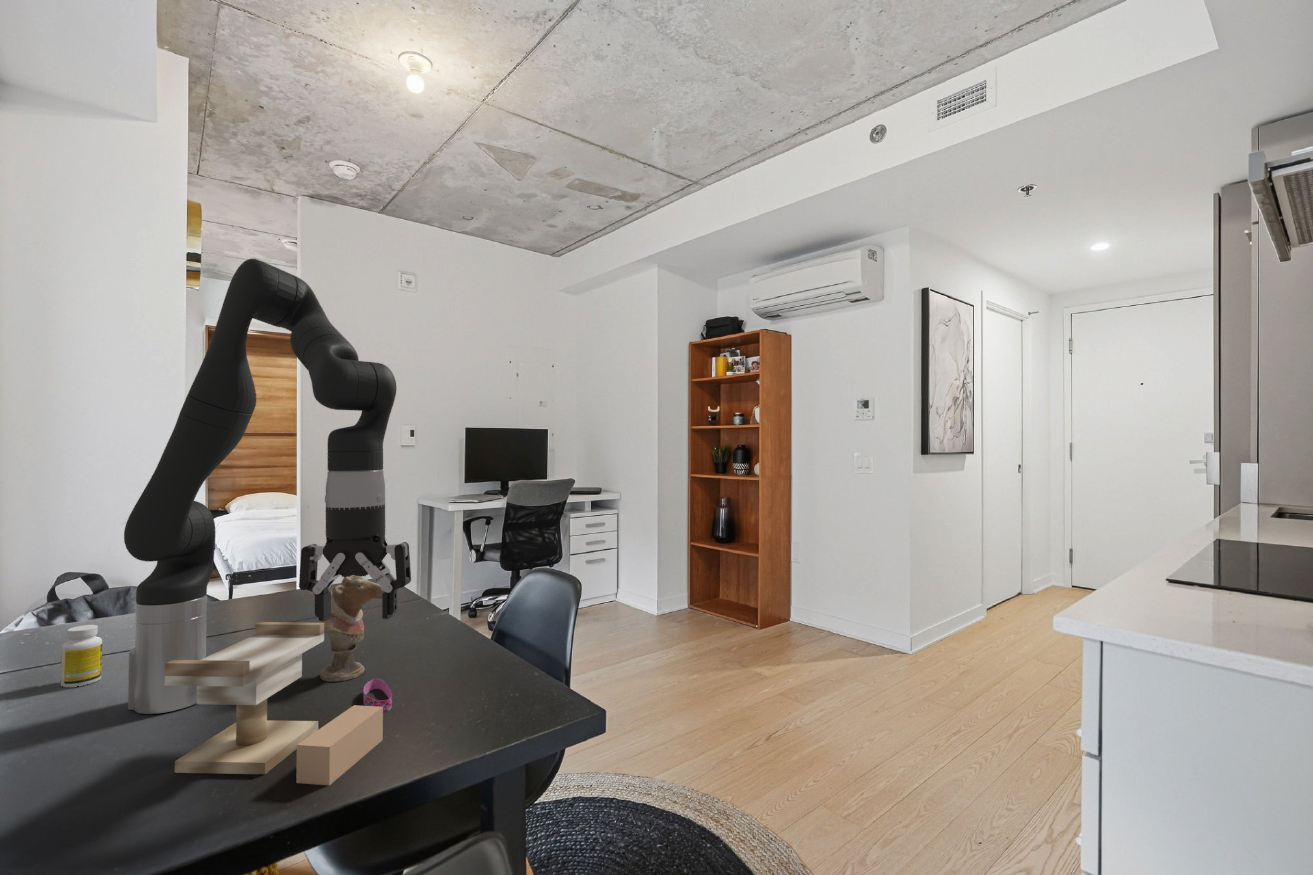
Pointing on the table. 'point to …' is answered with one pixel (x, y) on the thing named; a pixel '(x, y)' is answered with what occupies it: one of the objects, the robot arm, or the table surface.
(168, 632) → the robot arm
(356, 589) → the decorative bust
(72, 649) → the supplement bottle
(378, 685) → the headband
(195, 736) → the table surface
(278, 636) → the display stand
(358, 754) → the tan block
